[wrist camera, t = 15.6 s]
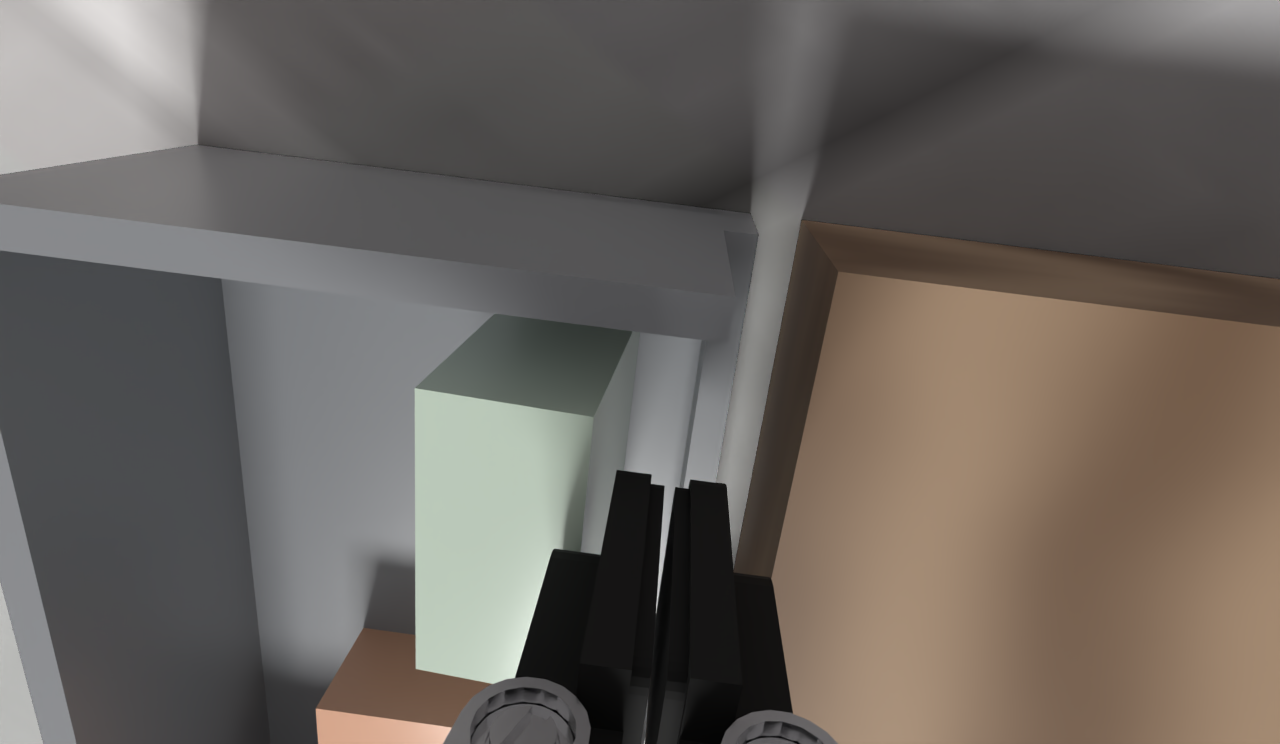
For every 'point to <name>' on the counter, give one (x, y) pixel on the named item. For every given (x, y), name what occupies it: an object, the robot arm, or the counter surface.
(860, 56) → the counter surface
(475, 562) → the sage tile
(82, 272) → the box
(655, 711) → the robot arm
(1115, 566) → the tan wooden board
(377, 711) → the terracotta block
